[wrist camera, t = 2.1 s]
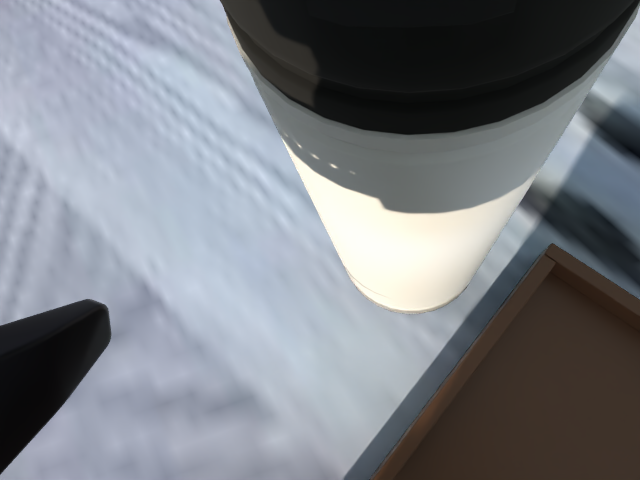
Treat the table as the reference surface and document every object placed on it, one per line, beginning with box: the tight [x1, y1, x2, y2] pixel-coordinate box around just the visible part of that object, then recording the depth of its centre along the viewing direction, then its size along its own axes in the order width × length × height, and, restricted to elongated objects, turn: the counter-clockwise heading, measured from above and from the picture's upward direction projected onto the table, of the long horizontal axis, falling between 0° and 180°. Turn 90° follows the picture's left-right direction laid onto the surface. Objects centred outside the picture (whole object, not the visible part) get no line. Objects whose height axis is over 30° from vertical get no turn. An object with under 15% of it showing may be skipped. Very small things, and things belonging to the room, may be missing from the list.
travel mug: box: [220, 0, 640, 314], centre depth 14 cm, size 6×7×20 cm
